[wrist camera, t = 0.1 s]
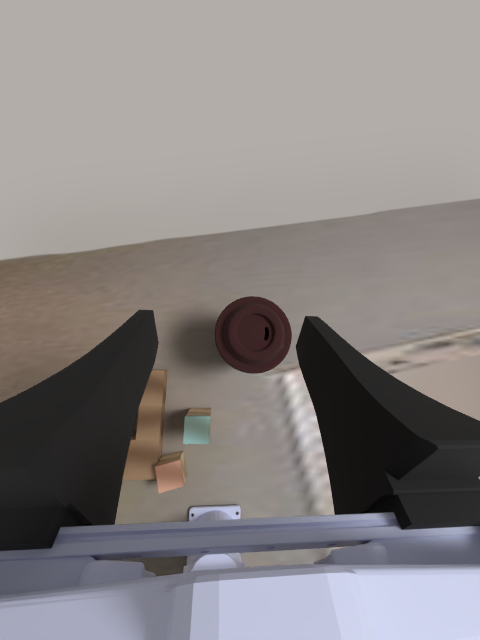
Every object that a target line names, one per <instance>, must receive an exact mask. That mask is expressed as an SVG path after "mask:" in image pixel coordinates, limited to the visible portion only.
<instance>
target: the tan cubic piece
mask: <svg viewBox="0 0 480 640" xmlns="http://www.w3.org/2000/svg"><path fill="white" fill-rule="evenodd" d="M155 471H156V477H157V484H158V491H159V493H162V492H166V491H169V490H173V489H176V488H180V487H183V486H184V485H185V484H184V483H185V479H186V475H187V471H186V465H185V459H184V453H183V451H181V452H177V453H173V454H170V455H166V456H162V457H161V458H160V460H159V462H158V463H157V465H156V466H155Z"/></svg>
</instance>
